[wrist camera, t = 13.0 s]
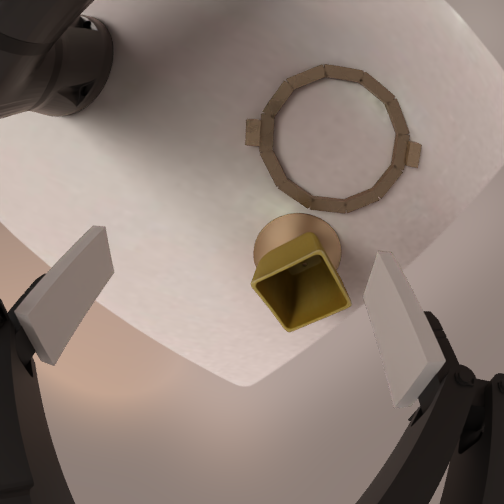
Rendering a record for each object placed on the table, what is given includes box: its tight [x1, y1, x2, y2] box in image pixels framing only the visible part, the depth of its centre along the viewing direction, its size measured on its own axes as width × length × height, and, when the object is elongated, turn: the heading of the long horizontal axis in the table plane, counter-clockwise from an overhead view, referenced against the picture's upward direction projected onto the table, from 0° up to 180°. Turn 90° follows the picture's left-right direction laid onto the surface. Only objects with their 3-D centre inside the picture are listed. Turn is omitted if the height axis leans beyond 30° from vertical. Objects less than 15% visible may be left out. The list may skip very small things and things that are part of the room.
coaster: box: [254, 213, 341, 270], centre depth 41 cm, size 12×12×1 cm
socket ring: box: [245, 64, 422, 213], centre depth 33 cm, size 21×18×2 cm
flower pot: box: [251, 232, 352, 332], centre depth 37 cm, size 9×9×9 cm
